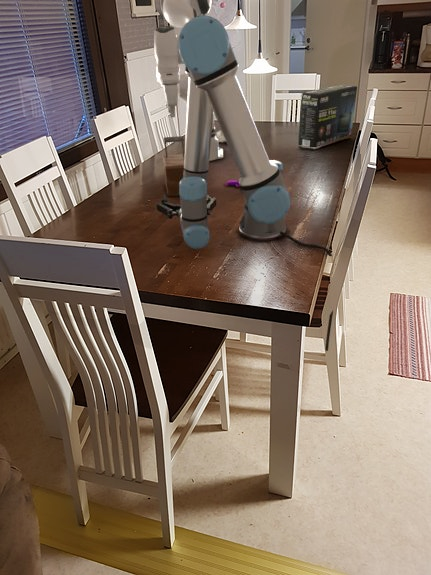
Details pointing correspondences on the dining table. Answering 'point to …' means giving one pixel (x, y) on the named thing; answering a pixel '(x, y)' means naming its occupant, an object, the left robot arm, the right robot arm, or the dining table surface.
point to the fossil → (220, 136)
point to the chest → (173, 180)
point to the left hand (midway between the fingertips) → (171, 114)
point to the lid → (174, 160)
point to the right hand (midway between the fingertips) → (184, 196)
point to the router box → (326, 115)
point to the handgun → (233, 183)
